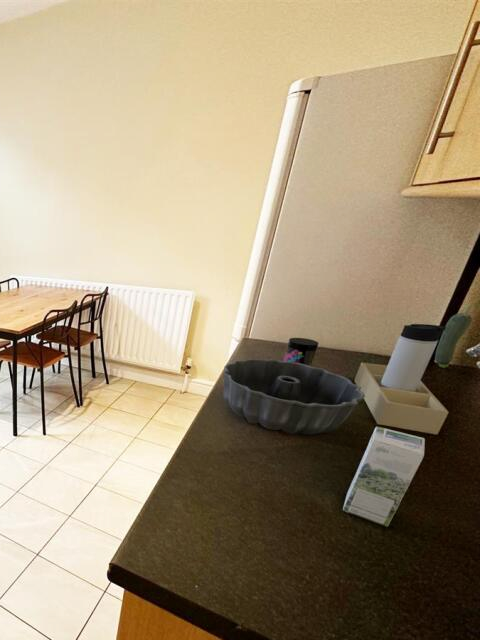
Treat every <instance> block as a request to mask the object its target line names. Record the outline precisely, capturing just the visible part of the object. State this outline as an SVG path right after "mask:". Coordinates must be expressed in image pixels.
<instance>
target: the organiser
mask: <svg viewBox="0 0 480 640" xmlns="http://www.w3.org/2000/svg"><path fill="white" fill-rule="evenodd" d="M387 366H388V365H384V364H377V363H369V362H360V365H359V367H358V371H357V373H356V375H355V377H354V384H355V385H358V386H360V387H361V389H360V391H362V392H363V393H364V395H365V397H364V399H363V400H364V402H365V403H366V405H367V408H368V409H369V411H370V413H371V414H372V417H373V419H374V421H375V422H376V425H381V426H386V427H393V428H397V429H404V430H409V431H415V432H420V433H424V434H431V435H432V434H433V435H438V434H439V432H440V430H441V428H442V427H443V425H444V422H445V420H446V418H447V417H448V414H449V411H448V410H447V409H446V407H445V406H444V405H443V403H441V402H440V400H438V398H437V397H436V396H435V395H434V394H433V393H432V392H431V390H429V388H428V387H427V386H426V385H425V384H424V383H423V381H422V379H421V380H420V382H419V384H418V387H417V389H416V391H415V392H411V391H404V390H397V389H390V388H383V387H379V386H380V383H381V381H382V378H383V376H384V373H385V371H386V368H387Z"/></svg>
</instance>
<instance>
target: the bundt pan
mask: <svg viewBox="0 0 480 640" xmlns="http://www.w3.org/2000/svg"><path fill="white" fill-rule="evenodd" d="M223 370H224V371H223V372H222V376H223V377H224V378H223V401H224V402H225V404H226V405H227V406H228V407H229V408H230V409H231V410H232V411H233V412H234V413H235V414H236V415H238V416H239V417H242V418H245V419H246V421H247V422H248V423H249V424H253V425H254V424H259V425H260V426H262V427H264V428H265V429H268V430H272V431H278V430H282V431H283V432H284V433H285V434H287V435H293V434H294V433H298V434H301V435H309V436H310V435H317V434H325V433H326V434H327V433H331V432H334V431H335V430H337V429H338V428H339V427H340V426H341V425H342V424H343V423H344V422H346V420H347V419H348V417H349V416H350V415H351V413H352V411H353V410H354V409H355V407H356V406H358V403H359V402H361V401H363V400H364V397H365V395H364V393H363V392H362V391H360V389H361V387H360V386H358V385H356V383H353V382H352V381H351V380H350V379H349V378H347V377H346V376H343V375H340V374H337V373H333V372H330V371H329V370H327V369H325V368H321V367H320V368H319V367H313V366H312V365H311V366H308V365H305V364H300V363H295V362H283V360H279V359H275V358H272V359H263V358H247V359H244V360H234V361H233V362H232V363H228V364H226V365H224V368H223Z"/></svg>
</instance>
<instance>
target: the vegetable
mask: <svg viewBox="0 0 480 640" xmlns="http://www.w3.org/2000/svg"><path fill="white" fill-rule="evenodd" d="M478 305H479V302H478V301H477V300H473V301H471V302H468V303H466V304H465V305H464V306H463V307H462V308H461V309H460V310H459V312H458V313H456V314H454V315H452V316H451V317H450V318H449V320H448V321H447V322H446V324H445V326H444V327H446V329H445V330H444V331H442V333H441V335H440V337H439V340H438V343H437V346H436V350H435V356H434V361H435V363H436V364H437V365H438V366H439V367H440V368H443V369H445V368H448V367H449V366H450V363H451V362H452V360H453V358H454V354H455V351H456V347H457V344H458V342H459V341H460V339H461V338H462V337H463V336H464V335H465V334H466V332H467V330H468V329H469V328H470V327H471V324H472V321H473V318H472V316H471V315H470V313H471V312H472V311H473V310H474V307H477V306H478Z"/></svg>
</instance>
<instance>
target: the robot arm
mask: <svg viewBox="0 0 480 640" xmlns="http://www.w3.org/2000/svg"><path fill="white" fill-rule="evenodd" d="M465 352H466V353H467V355H468V356H470V358H477V357H480V343H478V344H477V345H475V346H473V347H470V348H469V349H466V351H465ZM475 365H476V366H477V367H478V368H479V369H480V360H479V361H477V362H476V364H475Z"/></svg>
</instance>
